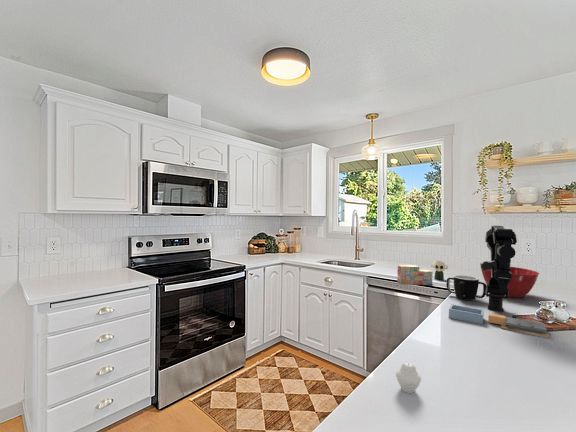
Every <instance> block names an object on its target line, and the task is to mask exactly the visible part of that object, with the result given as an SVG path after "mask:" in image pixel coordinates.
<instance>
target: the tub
mask: <svg viewBox="0 0 576 432" xmlns="http://www.w3.org/2000/svg"><path fill="white" fill-rule="evenodd" d="M484 312H485V311H484V309H481V308H477V307H471V306H470V307H469V306H465V305H458V304H450V305H449V307H448V318H449V319H452V320H453V319H454V320H458V321H459V320H460V321H463V322H468V323H469V322H470V323H474V324H479V325H484V316H485V315H484Z"/></svg>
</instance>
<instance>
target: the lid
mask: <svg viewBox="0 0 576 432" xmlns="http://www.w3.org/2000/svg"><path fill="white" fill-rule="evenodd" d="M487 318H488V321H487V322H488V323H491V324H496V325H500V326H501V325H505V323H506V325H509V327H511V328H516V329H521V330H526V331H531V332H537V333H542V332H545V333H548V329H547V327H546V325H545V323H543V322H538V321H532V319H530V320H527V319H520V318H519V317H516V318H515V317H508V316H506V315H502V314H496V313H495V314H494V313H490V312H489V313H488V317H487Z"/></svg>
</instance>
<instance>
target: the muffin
mask: <svg viewBox="0 0 576 432" xmlns="http://www.w3.org/2000/svg"><path fill="white" fill-rule="evenodd" d="M395 377H396V380H397V382H398V384H399V387H400V388H401V390H402V392H405V393H408V394H413V393H415V392H416V390H417V389H418V387H419V386H420V383H421V380H422V377H421V374H419V372H418V371H417V368H416V366H415V365H414V364H413V363H410V362H404V363H402V364H401V367H400V368H399V369H397V370H396V372H395Z"/></svg>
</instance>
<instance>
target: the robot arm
mask: <svg viewBox="0 0 576 432" xmlns="http://www.w3.org/2000/svg"><path fill="white" fill-rule="evenodd" d="M484 238H485V239H484V240H485V243H486V247H487V248H488V249H489V251H490V261H488V260H486V261H483V262H481V263H479V265H480V266H481V268H482V270H483V271H485V270H488V269H491V279H490V280H489V282H488V285H487V284H486V295H485V297H487V298H488V305H487V310H490V311H496V312H501V313H502V312H504V307H503V304H504V300H507V299H509V297H508V293H509V290H508V288H507V286H508V284H509V282H510V280H511V279H512V273H511V272H510V271H511V269H510V267H511V261H512V259H513V258H514V257H515V256H516V250H515V248H514V247H513V245H514V246H516V244H517V242H518V241H517V240H518V239H517V234H516V233H515V231H513V228H505V227H504V225H503V226H502V225H491V227H490V229H489V230H487V231H486V233H485V237H484ZM481 268H480V269H481ZM482 270H481V271H482Z"/></svg>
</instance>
